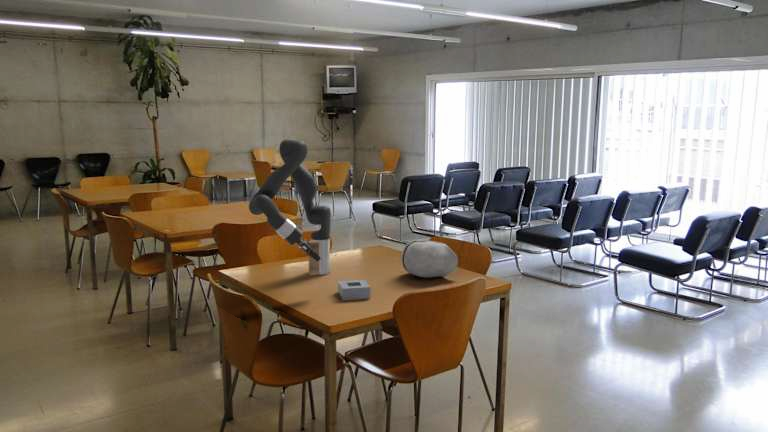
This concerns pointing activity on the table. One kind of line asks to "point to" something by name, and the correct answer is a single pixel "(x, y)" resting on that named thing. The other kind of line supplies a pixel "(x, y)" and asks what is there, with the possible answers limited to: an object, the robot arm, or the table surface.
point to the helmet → (429, 259)
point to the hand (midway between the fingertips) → (318, 258)
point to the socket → (353, 289)
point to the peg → (312, 262)
